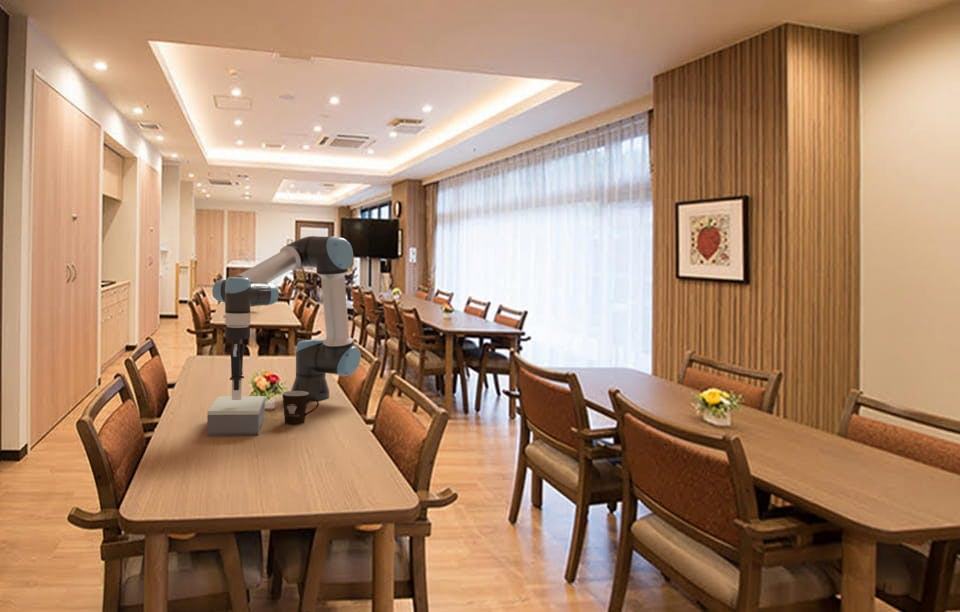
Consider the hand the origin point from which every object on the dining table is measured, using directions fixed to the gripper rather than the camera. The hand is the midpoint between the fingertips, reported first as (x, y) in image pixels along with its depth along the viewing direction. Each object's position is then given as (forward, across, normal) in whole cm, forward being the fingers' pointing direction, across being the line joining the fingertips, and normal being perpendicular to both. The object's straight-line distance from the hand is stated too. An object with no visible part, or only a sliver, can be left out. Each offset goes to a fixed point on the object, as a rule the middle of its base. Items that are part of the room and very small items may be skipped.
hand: (236, 399), depth 212 cm
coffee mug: (+11, -9, +19) cm, 23 cm away
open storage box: (+10, -5, 0) cm, 11 cm away
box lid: (+4, -5, 0) cm, 6 cm away
